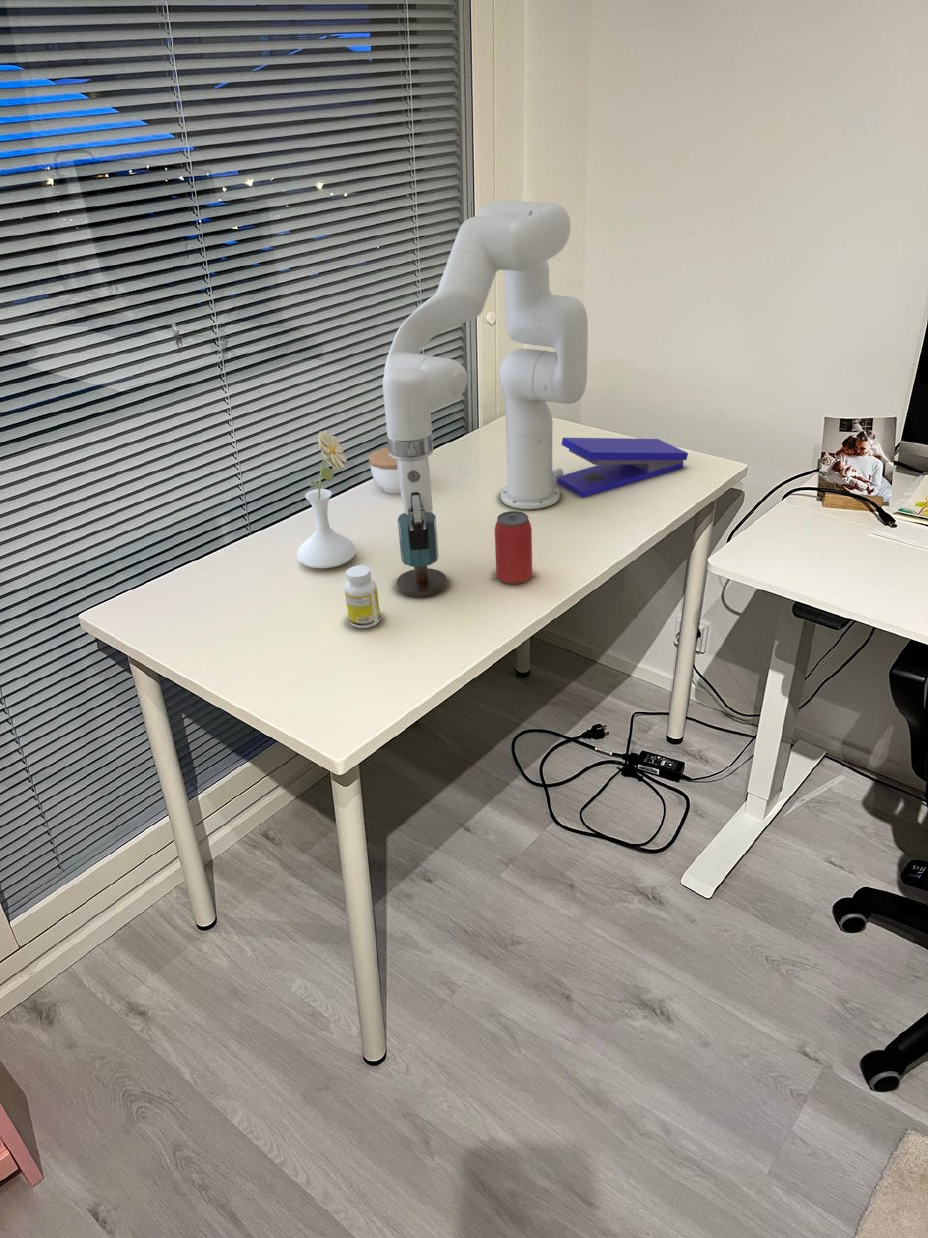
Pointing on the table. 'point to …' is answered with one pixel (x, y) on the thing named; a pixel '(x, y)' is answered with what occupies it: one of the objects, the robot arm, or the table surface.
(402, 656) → the table surface
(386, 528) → the table surface
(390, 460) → the trinket box
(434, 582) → the holder
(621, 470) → the stapler
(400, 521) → the teal wooden cylinder
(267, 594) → the table surface
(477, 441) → the table surface
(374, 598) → the supplement bottle
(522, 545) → the beer can
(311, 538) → the flower in vase
